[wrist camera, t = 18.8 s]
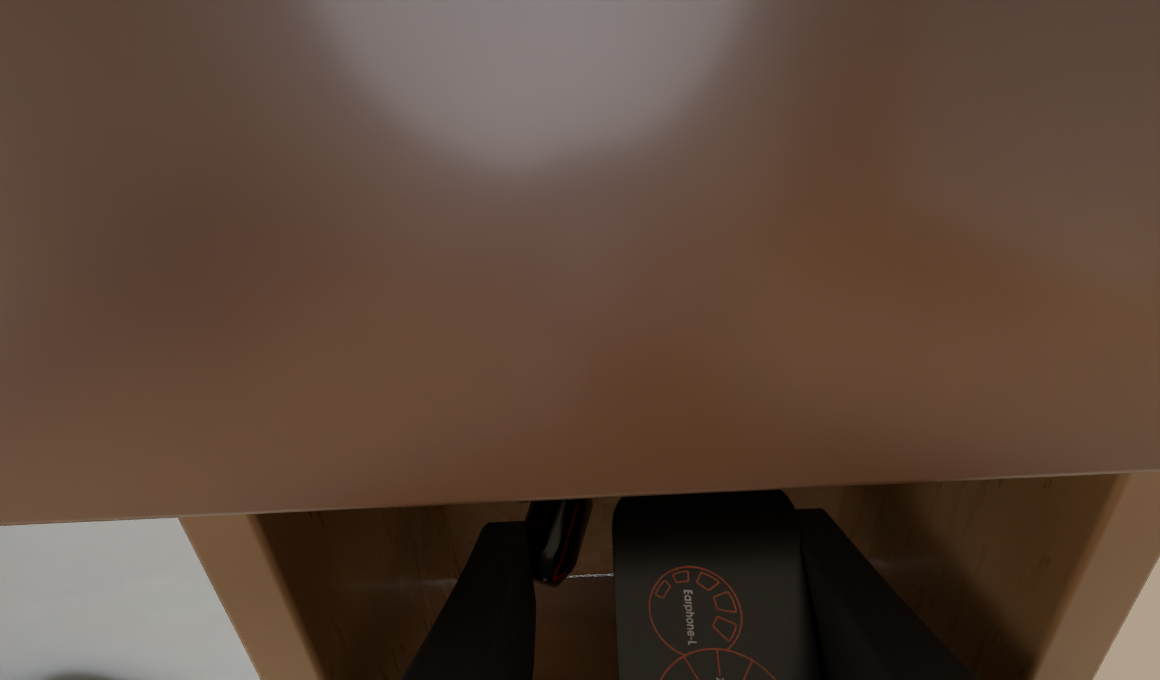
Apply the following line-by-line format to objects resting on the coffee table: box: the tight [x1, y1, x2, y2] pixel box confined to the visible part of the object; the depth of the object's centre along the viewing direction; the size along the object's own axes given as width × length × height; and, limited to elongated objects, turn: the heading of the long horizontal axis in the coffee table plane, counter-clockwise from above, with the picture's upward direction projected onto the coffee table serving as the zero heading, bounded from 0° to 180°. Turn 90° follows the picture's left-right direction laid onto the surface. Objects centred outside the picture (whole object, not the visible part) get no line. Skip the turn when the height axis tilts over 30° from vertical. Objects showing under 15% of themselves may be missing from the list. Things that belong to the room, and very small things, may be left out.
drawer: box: [178, 472, 1160, 680], centre depth 11 cm, size 20×11×7 cm, turn 4°
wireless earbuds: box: [520, 489, 823, 680], centre depth 10 cm, size 5×7×3 cm
